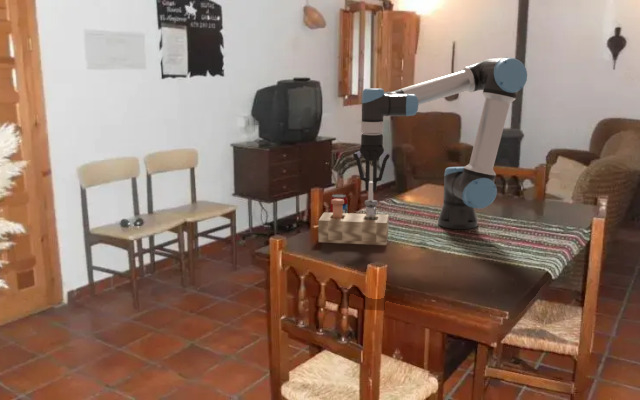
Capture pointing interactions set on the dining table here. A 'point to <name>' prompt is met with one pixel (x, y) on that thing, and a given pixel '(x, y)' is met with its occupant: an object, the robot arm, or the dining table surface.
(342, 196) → the beverage can
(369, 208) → the grey plug
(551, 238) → the dining table surface
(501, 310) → the dining table surface
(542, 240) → the dining table surface
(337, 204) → the terracotta plug
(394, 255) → the dining table surface
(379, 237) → the block
